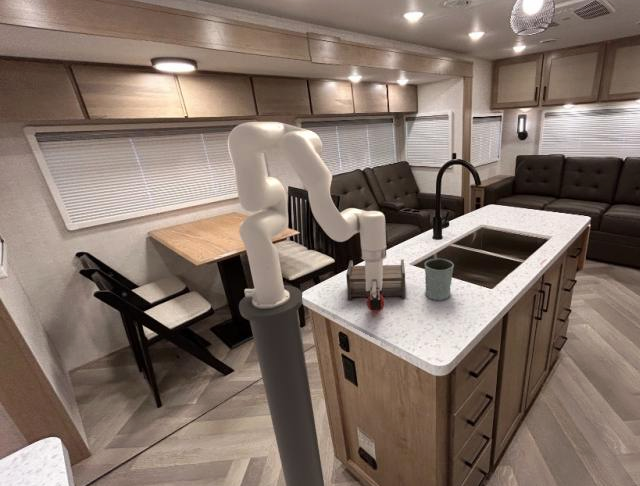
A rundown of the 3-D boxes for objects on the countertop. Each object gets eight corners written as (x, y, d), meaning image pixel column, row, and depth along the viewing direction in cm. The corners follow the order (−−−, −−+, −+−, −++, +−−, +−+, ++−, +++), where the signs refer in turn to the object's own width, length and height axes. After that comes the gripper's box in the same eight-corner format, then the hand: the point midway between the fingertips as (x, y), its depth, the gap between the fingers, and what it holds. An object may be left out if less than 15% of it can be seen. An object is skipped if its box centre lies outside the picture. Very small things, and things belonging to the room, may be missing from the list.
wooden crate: (348, 300, 112) (346, 274, 108) (351, 284, 123) (349, 260, 119) (405, 298, 113) (405, 273, 109) (403, 283, 124) (403, 259, 120)
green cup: (424, 301, 111) (425, 270, 107) (422, 287, 121) (423, 257, 116) (453, 301, 111) (455, 270, 106) (449, 287, 120) (451, 257, 116)
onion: (388, 312, 105) (388, 291, 102) (375, 319, 101) (374, 297, 98) (376, 305, 109) (376, 284, 106) (363, 312, 105) (362, 291, 102)
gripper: (363, 242, 105) (366, 288, 111) (359, 264, 89) (362, 316, 95) (386, 241, 105) (387, 287, 111) (386, 263, 89) (388, 316, 95)
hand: (376, 301), depth 103 cm, fingers open, 9 cm apart
